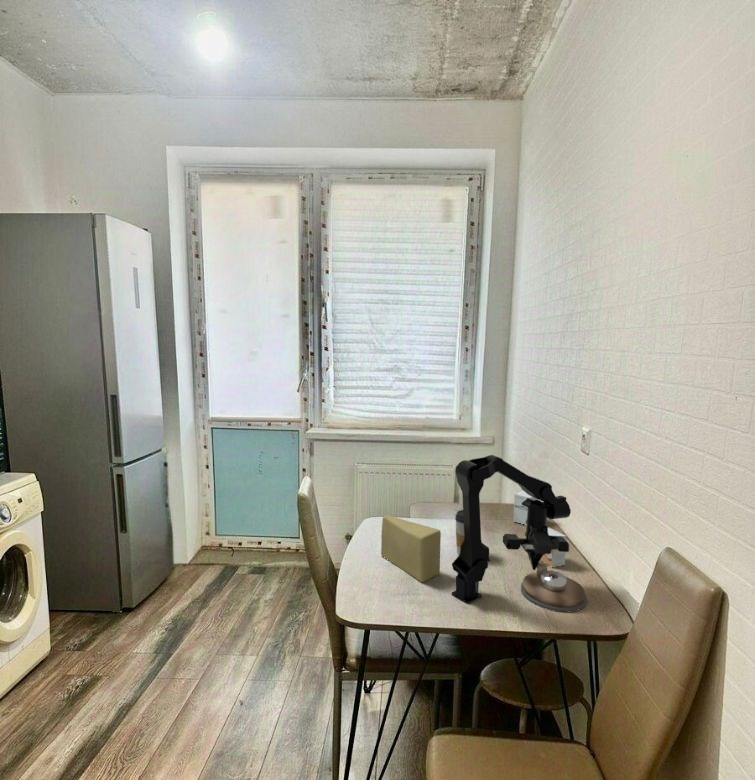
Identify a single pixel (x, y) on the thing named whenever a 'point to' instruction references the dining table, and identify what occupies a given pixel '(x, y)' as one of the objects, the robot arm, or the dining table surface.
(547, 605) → the turntable base
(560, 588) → the cast cover
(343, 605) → the dining table surface
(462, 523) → the coffee cup
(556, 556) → the small box
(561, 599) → the lazy susan
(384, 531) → the cheese
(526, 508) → the supplement box
